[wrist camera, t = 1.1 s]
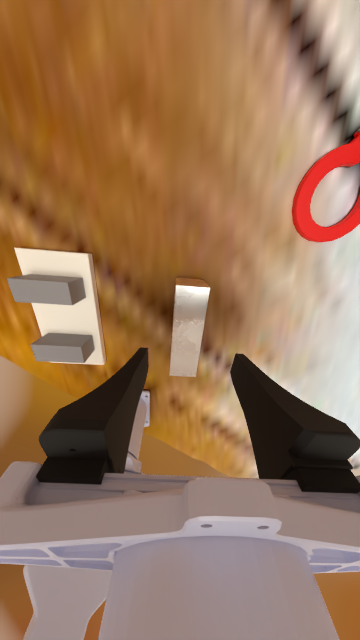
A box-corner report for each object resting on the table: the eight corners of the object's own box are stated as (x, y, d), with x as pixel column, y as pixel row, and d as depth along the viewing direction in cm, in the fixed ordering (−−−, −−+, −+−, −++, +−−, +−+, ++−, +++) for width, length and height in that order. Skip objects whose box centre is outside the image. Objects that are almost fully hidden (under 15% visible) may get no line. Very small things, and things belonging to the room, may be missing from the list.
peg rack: (106, 360, 26) (95, 379, 22) (54, 358, 25) (34, 376, 22) (91, 253, 19) (72, 255, 16) (22, 247, 19) (-15, 247, 15)
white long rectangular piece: (192, 354, 26) (195, 376, 21) (170, 353, 26) (169, 375, 21) (202, 279, 21) (210, 287, 16) (175, 276, 21) (176, 285, 16)
